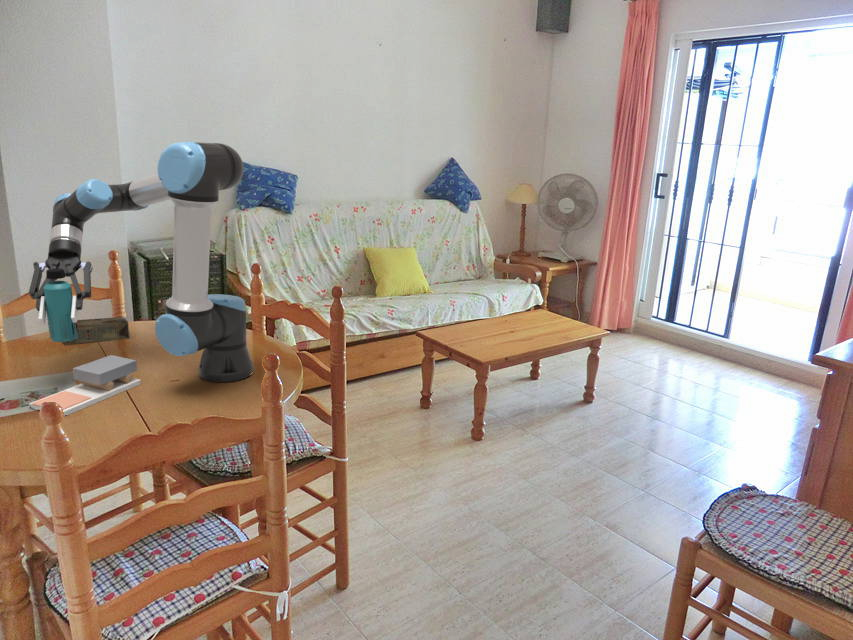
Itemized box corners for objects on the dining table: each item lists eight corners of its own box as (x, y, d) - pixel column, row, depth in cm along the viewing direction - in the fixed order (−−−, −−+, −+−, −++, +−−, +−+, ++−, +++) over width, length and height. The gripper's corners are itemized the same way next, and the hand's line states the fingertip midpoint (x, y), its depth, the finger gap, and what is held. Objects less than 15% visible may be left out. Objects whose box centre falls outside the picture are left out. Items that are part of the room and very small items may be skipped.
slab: (137, 370, 167) (136, 360, 166) (100, 385, 156) (99, 374, 155) (111, 365, 170) (111, 355, 169) (73, 379, 159) (72, 368, 158)
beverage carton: (130, 339, 203) (128, 320, 201) (63, 346, 193) (61, 326, 191) (127, 332, 210) (125, 314, 208) (62, 339, 200) (60, 320, 198)
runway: (141, 383, 167) (140, 371, 166) (62, 417, 146) (60, 403, 145) (110, 376, 171) (109, 364, 170) (29, 408, 149) (27, 394, 148)
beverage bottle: (77, 346, 159) (67, 271, 153) (47, 348, 157) (37, 272, 151) (81, 339, 165) (72, 266, 159) (53, 340, 163) (43, 266, 157)
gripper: (108, 253, 172) (103, 325, 162) (28, 253, 166) (18, 329, 156) (102, 237, 165) (97, 312, 155) (19, 237, 160) (8, 315, 149)
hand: (57, 320), depth 156 cm, fingers closed on beverage bottle, 6 cm apart
